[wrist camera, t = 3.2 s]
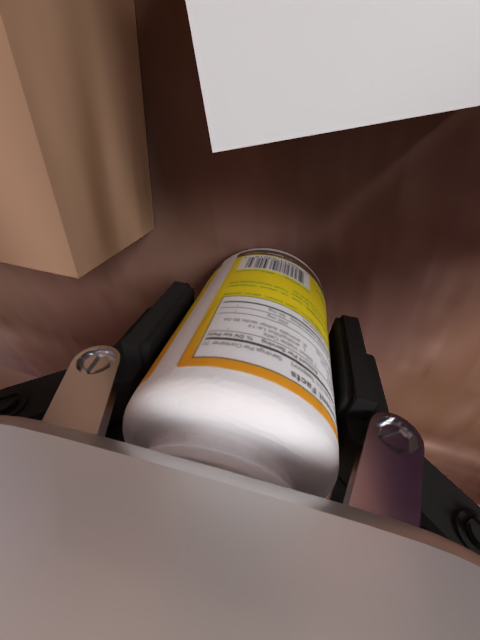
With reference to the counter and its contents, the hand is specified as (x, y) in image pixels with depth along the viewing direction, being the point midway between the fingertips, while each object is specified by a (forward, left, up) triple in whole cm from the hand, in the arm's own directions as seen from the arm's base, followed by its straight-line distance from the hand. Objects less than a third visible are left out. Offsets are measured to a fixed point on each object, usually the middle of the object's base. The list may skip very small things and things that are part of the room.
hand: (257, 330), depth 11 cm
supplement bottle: (0, 0, -3) cm, 3 cm away
